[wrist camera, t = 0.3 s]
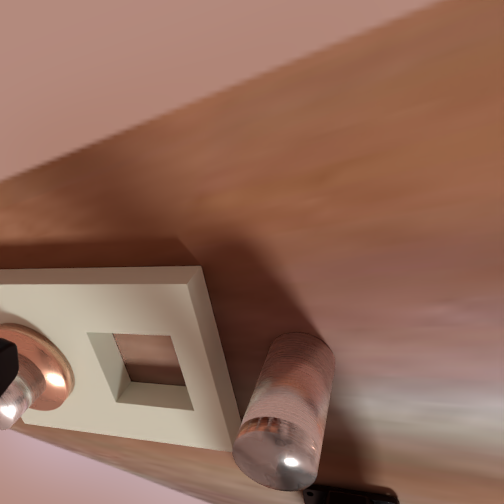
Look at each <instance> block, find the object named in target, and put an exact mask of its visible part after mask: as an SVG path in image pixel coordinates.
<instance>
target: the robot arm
mask: <svg viewBox="0 0 504 504" xmlns="http://www.w3.org/2000/svg"><path fill="white" fill-rule="evenodd" d="M18 371H19V360H18V349H17V345H16V344H15V343H14V342H11V341H9V340H6V339H4V338H0V397H1V396H2V395H3V393H4V392H5V391H6V390H7V388H8V387H9V386H10V384H11V383H12V382H13V381H14V379H15V378H16V376H17V374H18ZM303 495H304V501H305V504H400V503H399V501H398V500H397V499H396V498H394V497H390V496H383V495H377V494H370V493H364V492H358V491H351V490H345V489H338V488H332V487H325V486H319V485H310V486H309V487H307V488H305V489H304V490H303Z"/></svg>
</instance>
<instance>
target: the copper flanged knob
mask: <svg viewBox="0 0 504 504" xmlns="http://www.w3.org/2000/svg"><path fill="white" fill-rule="evenodd" d="M0 338H4V339H6V340H9V341H11V342H14V343H15V344H16V345H17V349H18V360H19V371H18V374H17V376H16V378H15V379H14V381H13V382H12V383H11V384H10V386H9V387H8V388H7V390H6V391H5V392H4V393H3V395H2V396H1V397H0V430H6V429H9V428H10V427H11V426H12V425H13V424H14V423H15V422H16V421H17V420H18V419H19V418H20V417H21V416H22V414H23V413H24V412H25V411H26V410H27V409H28V408H31V409H35V410H40V411H50V410H54V409H57V408H58V407H60V406H61V405H62V404H63V402H64V401H65V400H66V399H67V398H68V397H69V395H70V394H71V393H72V392H73V390H74V386H75V377H74V373H73V370H72V367H71V365H70V363H69V361H68V360H67V358H66V357H65V355H64V354H63V353H62V352H61V350H60V349H59V348H58V347H57V346H56V345H55V344H54V343H53V342H52V341H50V340H49V339H48V338H47V337H45V336H44V335H42V334H41V333H39V332H37V331H35V330H34V329H31V328H29V327H27V326H24V325H21V324H16V323H3V324H0Z"/></svg>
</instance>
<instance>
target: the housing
mask: <svg viewBox="0 0 504 504" xmlns="http://www.w3.org/2000/svg"><path fill="white" fill-rule="evenodd" d="M3 323H16V324H21V325H24V326H27V327H29V328H31V329H34V330H35V331H37V332H39V333H41V334H42V335H44V336H45V337H47V338H48V339H49V340H50V341H52V342H53V343H54V344H55V345H56V346H57V347H58V348H59V349H60V350H61V352H62V353H63V354H64V355H65V357H66V358H67V360H68V361H69V363H70V365H71V367H72V370H73V373H74V377H75V386H74V390H73V392H72V393H71V394H70V395H69V397H68V398H67V399H66V400H65V401H64V402H63V404H62V405H61V406H60V407H58V408H57V409H54V410H50V411H40V410H35V409H31V408H28V409H27V410H26V411H25V412H24V413H23V414H22V416H21V418H22V419H23V421H24V423H25V424H32V425H40V426H47V427H54V428H61V429H69V430H76V431H83V432H90V433H97V434H105V435H112V436H119V437H126V438H134V439H141V440H148V441H155V442H162V443H170V444H177V445H184V446H191V447H199V448H206V449H213V450H220V451H227V452H232V448H233V444H234V442H235V439H236V436H237V434H238V431H239V428H240V426H241V419H240V415H239V411H238V407H237V403H236V399H235V396H234V392H233V388H232V384H231V380H230V376H229V372H228V368H227V364H226V361H225V357H224V353H223V349H222V345H221V341H220V337H219V333H218V329H217V325H216V322H215V318H214V314H213V310H212V306H211V302H210V298H209V294H208V290H207V287H206V283H205V279H204V275H203V271H202V267H201V266H160V267H104V268H49V269H0V324H3ZM112 333H119V334H142V335H165V336H171V339H172V342H173V345H174V349H175V352H176V355H177V358H178V361H179V364H180V367H181V371H182V374H183V377H184V380H185V383H186V386H176V385H164V384H153V383H141V382H131V380H130V378H129V375H128V373H127V370H126V367H125V365H124V362H123V360H122V357H121V355H120V352H119V349H118V347H117V344H116V342H115V339H114V337H113V334H112Z"/></svg>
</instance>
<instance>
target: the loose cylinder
mask: <svg viewBox="0 0 504 504" xmlns="http://www.w3.org/2000/svg"><path fill="white" fill-rule="evenodd" d="M334 370H335V357H334V355H333V353H332V351H331V349H330V348H329V347H328V346H327V345H326V344H325V343H324V342H323V341H321V340H320V339H318V338H316V337H315V336H312V335H309V334H306V333H300V332H292V333H286V334H283V335H281V336H279V337H278V338H276V339H275V340H274V341H273V343H272V344H271V346H270V349H269V351H268V354H267V357H266V359H265V362H264V365H263V367H262V370H261V373H260V375H259V378H258V381H257V383H256V386H255V389H254V391H253V394H252V397H251V399H250V402H249V404H248V407H247V410H246V412H245V415H244V418H243V420H242V423H241V426H240V428H239V431H238V434H237V436H236V439H235V442H234V444H233V448H232V453H233V457H234V460H235V462H236V464H237V465H238V467H239V468H240V469H241V470H242V472H244V473H245V474H246V475H247V476H248V477H249V478H251V479H252V480H254V481H255V482H257V483H259V484H261V485H263V486H266V487H268V488H272V489H275V490H280V491H298V490H302V489H305V488H307V487H309V486H310V485H312V484H313V483H314V481H315V480H316V477H317V473H318V467H319V461H320V455H321V449H322V443H323V437H324V431H325V425H326V418H327V412H328V406H329V400H330V394H331V388H332V382H333V376H334Z"/></svg>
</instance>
